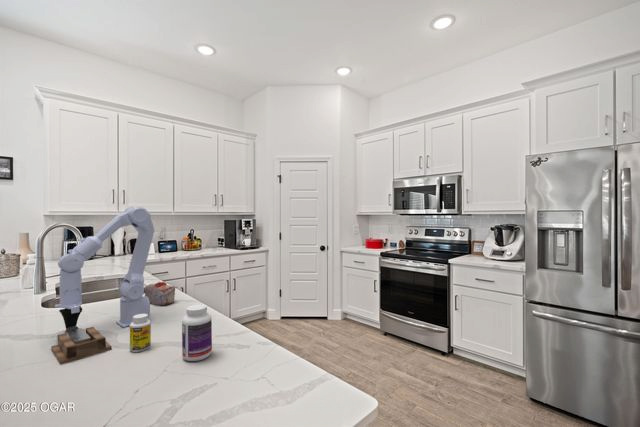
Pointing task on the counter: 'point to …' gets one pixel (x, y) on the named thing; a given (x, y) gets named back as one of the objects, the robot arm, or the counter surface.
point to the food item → (160, 293)
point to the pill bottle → (196, 333)
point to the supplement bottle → (140, 333)
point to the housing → (79, 347)
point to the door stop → (77, 335)
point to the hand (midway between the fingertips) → (70, 329)
